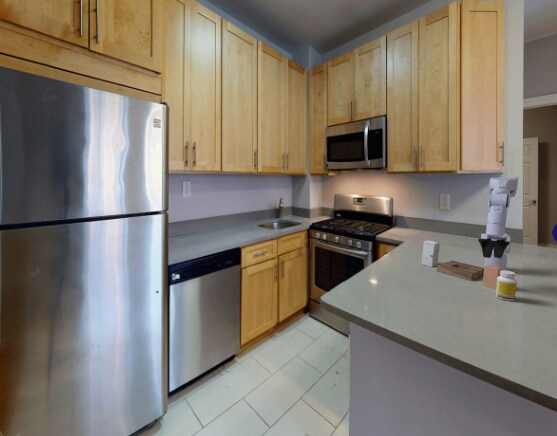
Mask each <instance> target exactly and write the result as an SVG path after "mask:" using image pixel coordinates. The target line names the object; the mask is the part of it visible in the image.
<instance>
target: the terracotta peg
mask: <svg viewBox="0 0 557 436" xmlns="http://www.w3.org/2000/svg"><path fill="white" fill-rule="evenodd" d="M483 268H484V275H483V276H482V287H486V288H489V289H493V290H496V283H497V277H499V276H501V275H500V271H502V268H501V267H497V266H492V265H487V266H485V267H484V266H483Z"/></svg>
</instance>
